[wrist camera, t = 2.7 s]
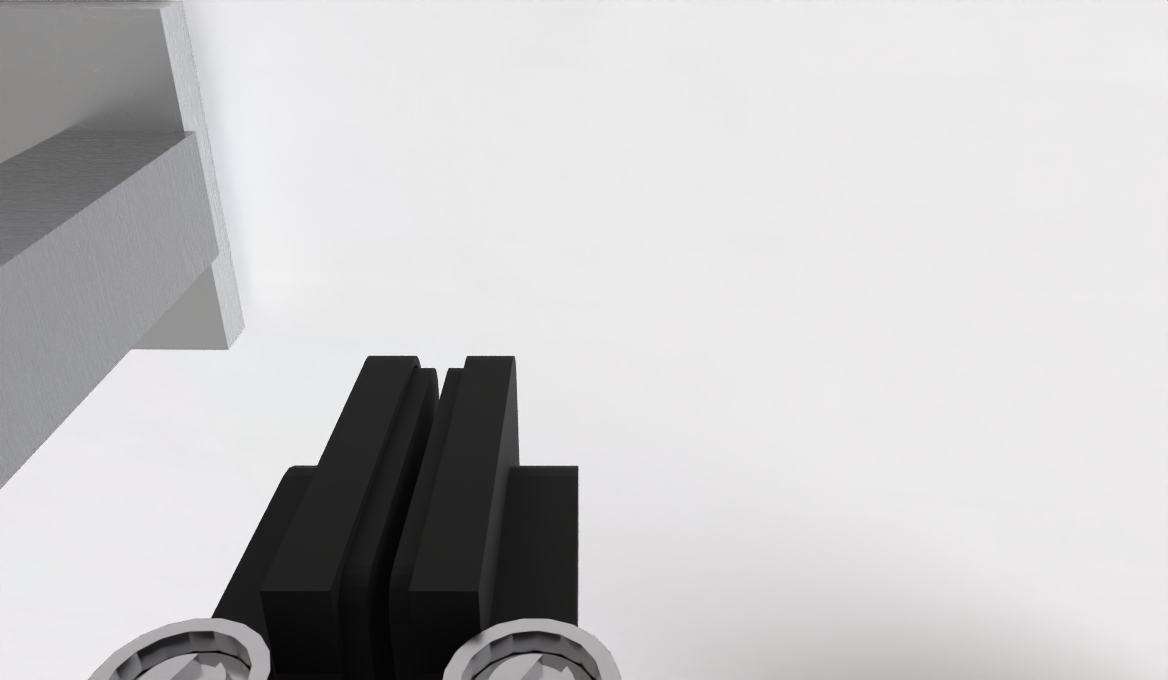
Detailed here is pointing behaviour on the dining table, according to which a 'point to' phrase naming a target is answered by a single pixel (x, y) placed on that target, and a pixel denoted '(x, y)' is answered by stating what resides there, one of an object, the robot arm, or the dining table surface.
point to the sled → (101, 206)
